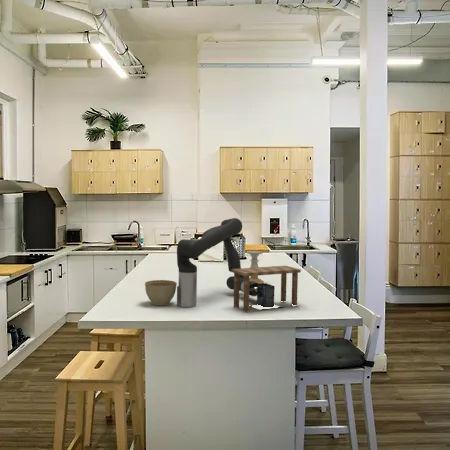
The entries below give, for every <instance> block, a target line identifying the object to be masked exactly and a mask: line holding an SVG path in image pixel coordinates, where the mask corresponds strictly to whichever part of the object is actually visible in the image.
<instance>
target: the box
mask: <svg viewBox="0 0 450 450" xmlns="http://www.w3.org/2000/svg"><path fill="white" fill-rule="evenodd" d="M275 287H276V286H275V285H272V284H268V282H264V283H262V284H257V290H258V291H260V292H262V293H263V295H262V297H260V296H256V304H258V305H261V306H263V307H273V306H274V304H275Z"/></svg>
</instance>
